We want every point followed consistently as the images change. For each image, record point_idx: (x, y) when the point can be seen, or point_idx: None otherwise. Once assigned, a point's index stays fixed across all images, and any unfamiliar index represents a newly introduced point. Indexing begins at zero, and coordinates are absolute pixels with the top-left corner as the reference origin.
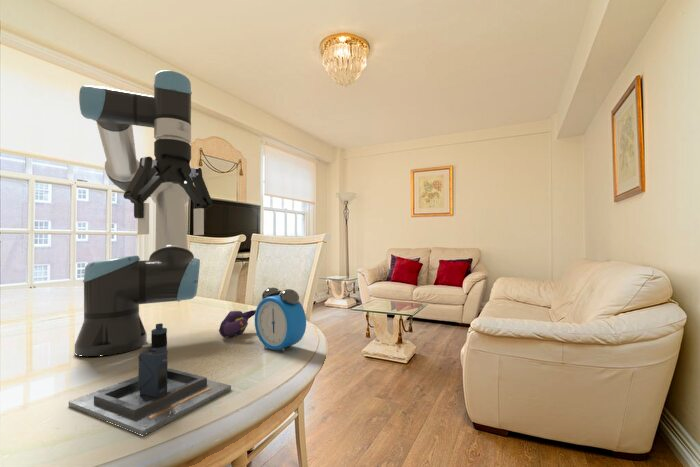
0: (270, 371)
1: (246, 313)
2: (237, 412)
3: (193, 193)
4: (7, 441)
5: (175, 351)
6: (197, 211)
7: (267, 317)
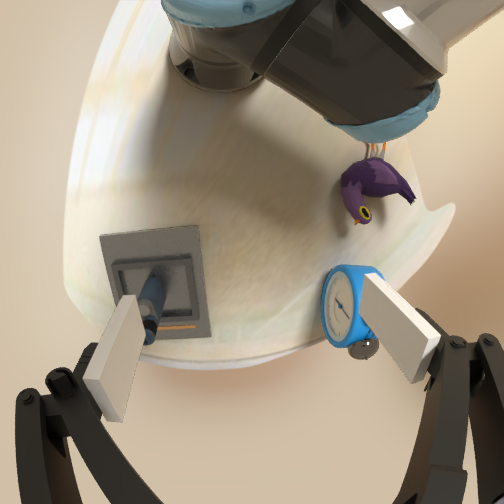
0: (266, 332)
1: (400, 189)
2: (188, 363)
3: (415, 447)
4: (64, 261)
5: (261, 159)
6: (411, 355)
7: (347, 296)
